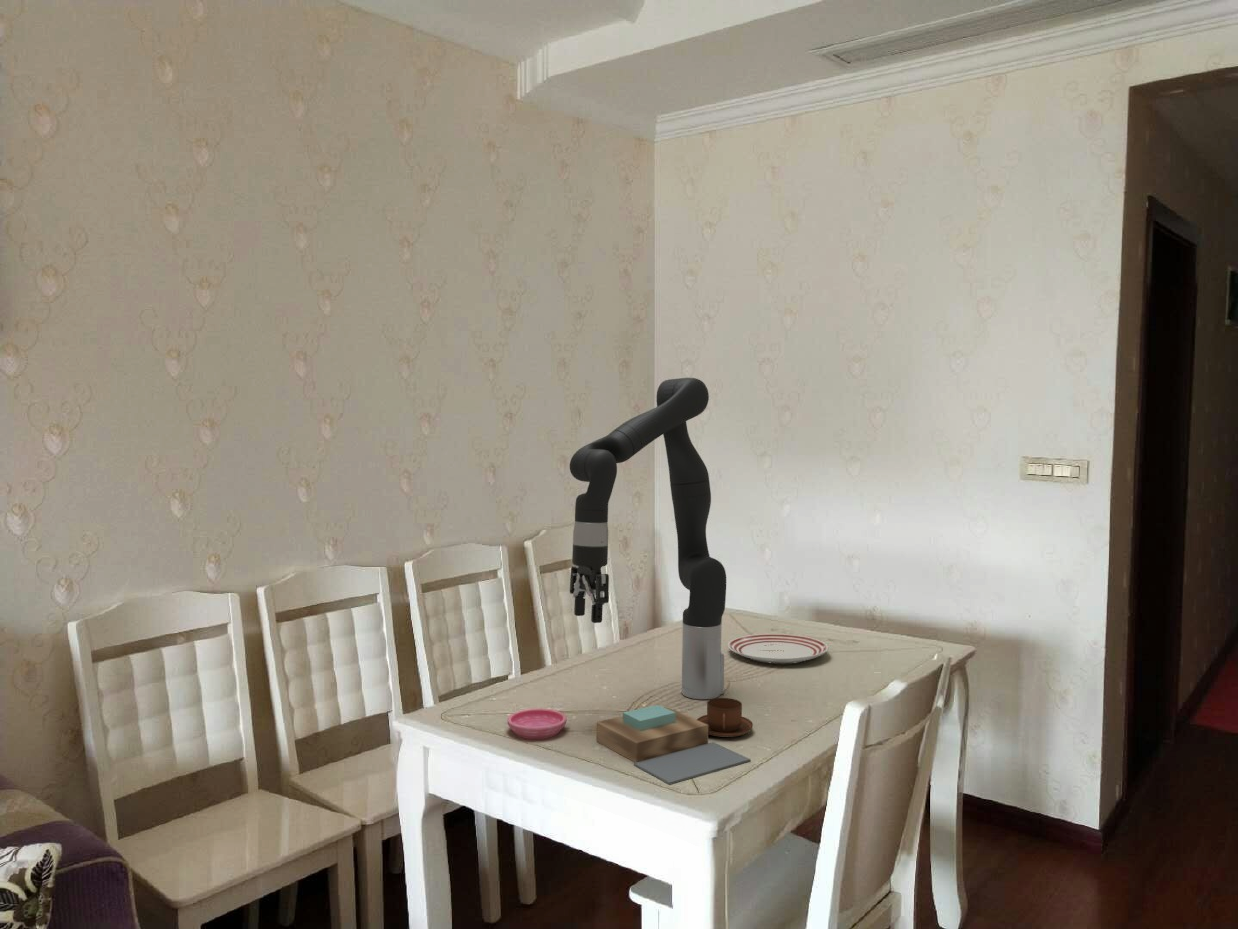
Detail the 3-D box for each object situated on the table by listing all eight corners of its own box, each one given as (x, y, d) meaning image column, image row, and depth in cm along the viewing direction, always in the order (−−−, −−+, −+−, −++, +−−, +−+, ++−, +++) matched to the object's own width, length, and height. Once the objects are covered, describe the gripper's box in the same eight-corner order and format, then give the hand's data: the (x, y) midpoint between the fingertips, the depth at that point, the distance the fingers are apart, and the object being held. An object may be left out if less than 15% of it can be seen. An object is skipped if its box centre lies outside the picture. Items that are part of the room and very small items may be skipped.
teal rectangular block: (657, 714, 197) (657, 704, 197) (675, 722, 192) (675, 712, 192) (622, 722, 192) (622, 712, 192) (640, 730, 187) (640, 721, 187)
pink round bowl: (496, 729, 199) (496, 715, 199) (545, 718, 206) (545, 704, 206) (527, 747, 189) (527, 731, 189) (578, 734, 197) (578, 719, 196)
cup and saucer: (760, 740, 194) (761, 710, 194) (705, 744, 192) (705, 714, 191) (741, 720, 206) (741, 693, 205) (688, 724, 203) (689, 696, 203)
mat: (713, 744, 191) (713, 742, 191) (750, 761, 182) (750, 759, 182) (633, 765, 180) (633, 763, 180) (669, 784, 171) (669, 782, 171)
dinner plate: (715, 662, 251) (715, 650, 251) (742, 639, 277) (742, 628, 276) (817, 675, 241) (818, 662, 241) (836, 649, 266) (836, 637, 266)
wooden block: (665, 724, 202) (665, 706, 202) (707, 744, 191) (708, 725, 191) (596, 741, 192) (596, 722, 192) (636, 763, 181) (636, 743, 180)
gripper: (621, 546, 195) (618, 624, 195) (591, 539, 207) (589, 612, 207) (588, 547, 191) (586, 626, 191) (560, 539, 204) (558, 614, 204)
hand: (587, 619), depth 199 cm, fingers open, 8 cm apart
